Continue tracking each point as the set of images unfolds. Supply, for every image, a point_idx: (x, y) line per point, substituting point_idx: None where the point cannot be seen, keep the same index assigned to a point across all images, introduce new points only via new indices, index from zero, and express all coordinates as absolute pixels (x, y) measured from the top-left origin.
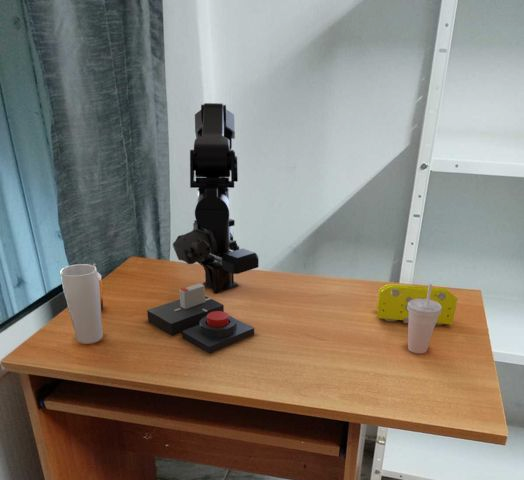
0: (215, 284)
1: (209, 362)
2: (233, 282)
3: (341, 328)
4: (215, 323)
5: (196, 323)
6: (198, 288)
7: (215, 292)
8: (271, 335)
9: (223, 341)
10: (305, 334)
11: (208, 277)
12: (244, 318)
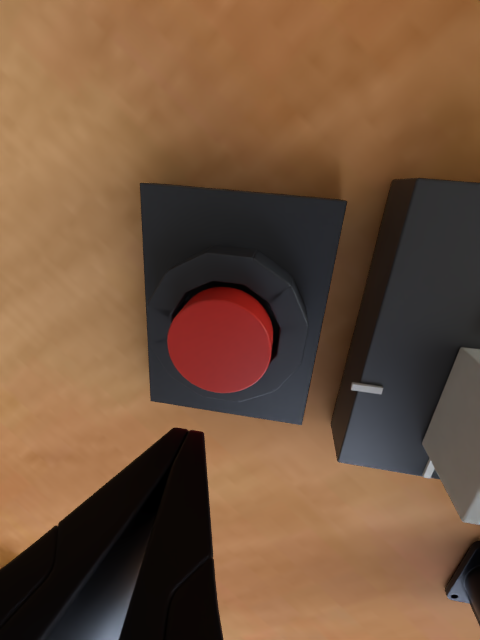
0: (113, 486)
1: (105, 135)
2: (469, 600)
3: (54, 515)
4: (191, 300)
5: (362, 318)
6: (475, 486)
7: (173, 432)
8: (128, 410)
9: (144, 262)
10: (77, 458)
11: (193, 552)
12: (268, 447)
